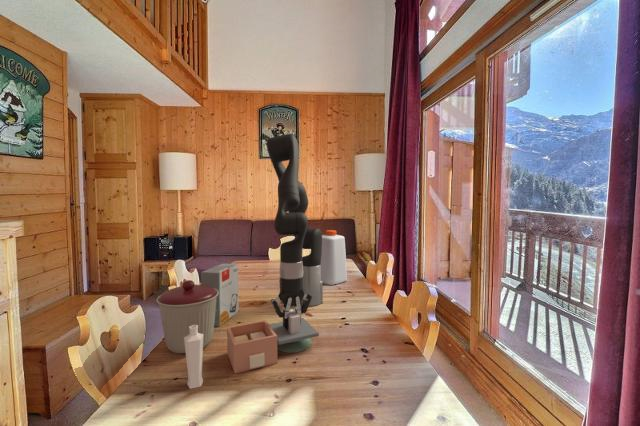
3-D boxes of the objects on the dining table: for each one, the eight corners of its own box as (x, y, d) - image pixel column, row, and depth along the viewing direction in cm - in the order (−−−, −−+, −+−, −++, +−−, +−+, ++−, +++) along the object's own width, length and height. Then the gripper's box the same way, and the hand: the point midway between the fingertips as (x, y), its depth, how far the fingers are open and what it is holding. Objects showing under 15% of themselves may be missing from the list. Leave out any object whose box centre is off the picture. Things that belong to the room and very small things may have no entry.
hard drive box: (219, 327, 111) (218, 273, 109) (200, 325, 112) (199, 272, 111) (239, 311, 126) (238, 263, 125) (222, 310, 127) (221, 262, 126)
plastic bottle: (311, 280, 170) (311, 230, 168) (331, 275, 180) (331, 228, 178) (331, 286, 159) (331, 233, 157) (350, 281, 169) (350, 230, 167)
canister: (191, 365, 86) (189, 292, 85) (144, 354, 92) (141, 285, 91) (231, 337, 103) (230, 275, 102) (189, 329, 109) (187, 271, 108)
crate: (266, 344, 98) (265, 320, 98) (278, 364, 87) (278, 337, 86) (227, 352, 93) (226, 327, 92) (235, 375, 81) (234, 346, 81)
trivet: (302, 331, 107) (302, 330, 107) (317, 347, 96) (317, 345, 96) (269, 339, 102) (269, 337, 102) (280, 356, 91) (280, 354, 91)
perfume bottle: (188, 378, 80) (186, 323, 79) (206, 378, 80) (204, 322, 79) (182, 390, 75) (180, 331, 74) (200, 389, 76) (198, 330, 75)
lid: (303, 323, 107) (303, 303, 107) (318, 339, 96) (318, 317, 95) (266, 330, 102) (266, 309, 101) (278, 348, 90) (278, 324, 90)
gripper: (307, 269, 104) (307, 319, 105) (266, 274, 98) (267, 327, 99) (316, 275, 97) (316, 328, 98) (273, 280, 91) (274, 336, 92)
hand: (291, 327), depth 99 cm, fingers closed on lid, 3 cm apart
